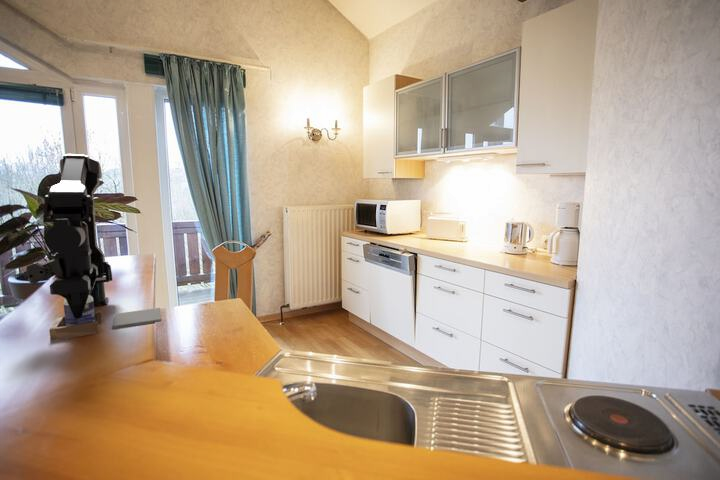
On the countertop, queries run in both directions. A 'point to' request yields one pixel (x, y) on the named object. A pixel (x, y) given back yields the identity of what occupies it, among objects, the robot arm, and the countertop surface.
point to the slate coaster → (136, 318)
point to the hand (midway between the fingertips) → (80, 314)
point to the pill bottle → (87, 314)
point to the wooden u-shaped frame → (74, 328)
